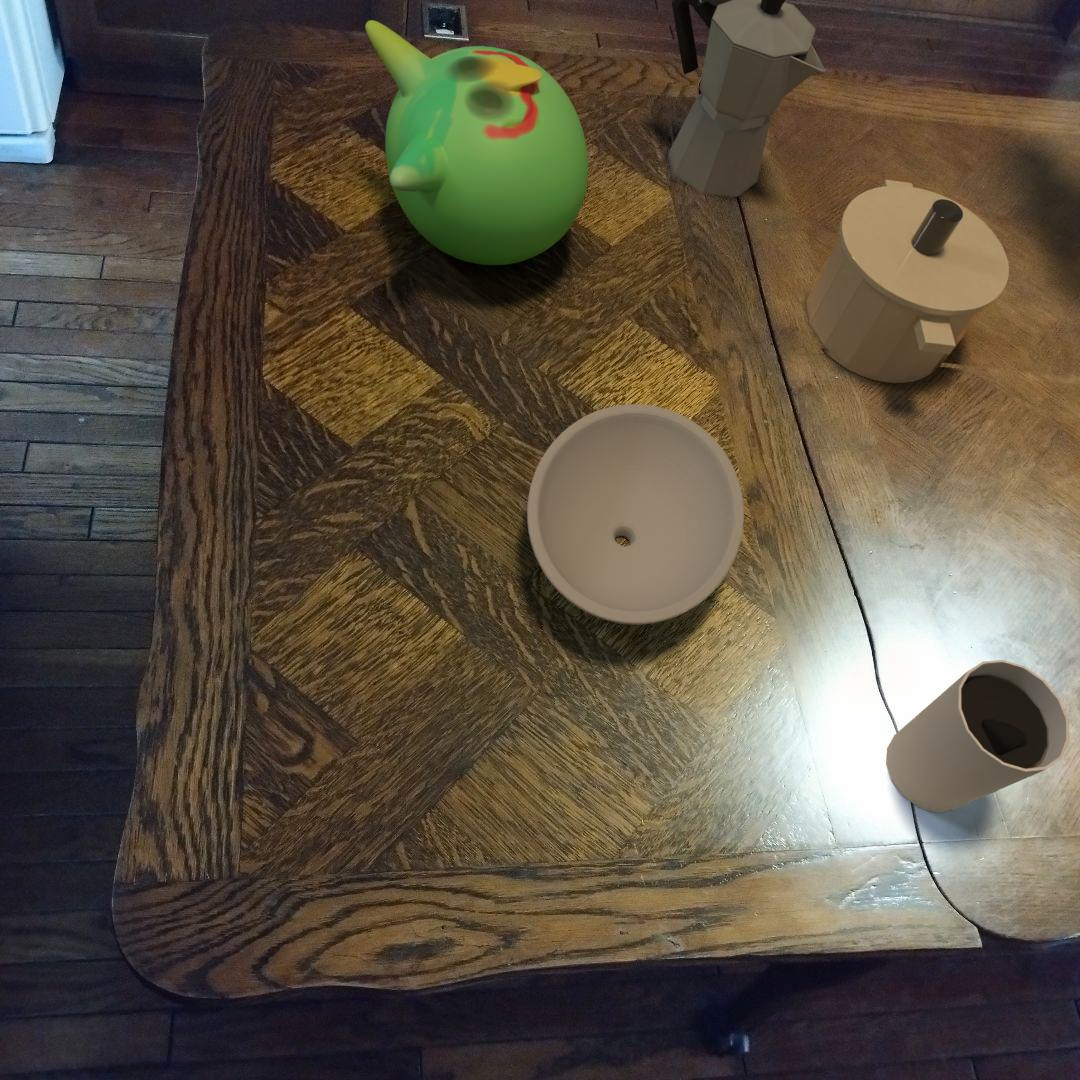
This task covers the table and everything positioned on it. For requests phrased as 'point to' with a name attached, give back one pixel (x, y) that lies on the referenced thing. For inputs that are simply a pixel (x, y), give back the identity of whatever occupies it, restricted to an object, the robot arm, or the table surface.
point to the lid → (923, 250)
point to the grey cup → (979, 737)
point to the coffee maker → (737, 87)
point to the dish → (635, 514)
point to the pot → (878, 324)
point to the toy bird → (481, 150)
